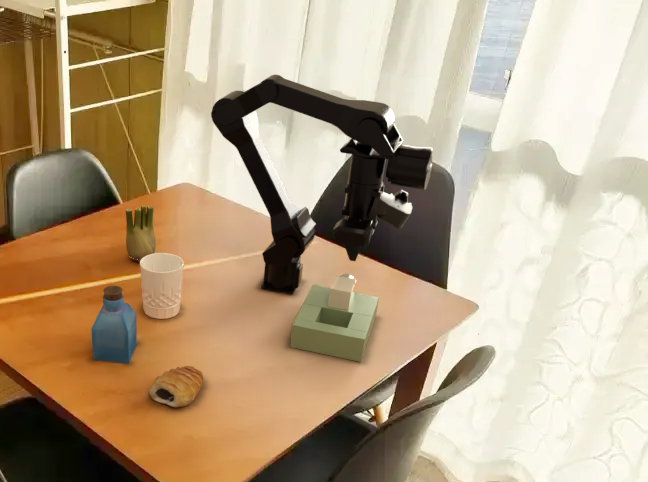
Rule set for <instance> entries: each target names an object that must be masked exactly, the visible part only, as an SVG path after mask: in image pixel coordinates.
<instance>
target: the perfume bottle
mask: <svg viewBox="0 0 648 482" xmlns="http://www.w3.org/2000/svg"><path fill="white" fill-rule="evenodd" d="M102 291H103V292H102V293H103V295H102V306H101V308H100V309H99V312H98V313H97V316H96V318H95V320H94V322H93V324H92V326H91V329H90V331H91V333H90V334H91V347H92V348H91V349H92V360H93V361H100V362H108V363H116V364H117V363H118V364H119V363H120V364H127V365H129V364H130V363H131V360H132V357H133V354H134V352H135V350H136V347H137V345H138V335H137V334H138V333H137V312H136V311H135V310H134V308H133V307H132V306H131V304H130V303H128V302H125V295H124V294H123V288H122V287H121V286H119V285H108V286H106V287H104V288H103V290H102Z"/></svg>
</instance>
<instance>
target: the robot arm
mask: <svg viewBox="0 0 648 482" xmlns="http://www.w3.org/2000/svg"><path fill="white" fill-rule="evenodd" d="M269 103H270V104H274V105H277V106H280V107H282V108H285V109H288V110H291V111H293V112H296V113H299V114H302V115H305V116H308V117H311V118H314V119H317V120H320V121H322V122H325V123H328V124H330V125H332V126H334V127H336V128H337V129H338V130H340V131H341V132H342V133H343V134H344V135H345V136H346V137H348V138H350V140H349V141H347V142H346V143H344V144H343V145H342V147H341V148H339V152H340V153H342V154H347V155H348V154H349V155H351V157H350V164H349V171H348V178H347V183H346V185H345V187H344V193H345V198H344V199H345V200H344V205H343V207H342V208H341V216H343V218H341V219H340V220H338V221H337V222H336V223H335V225H334V227H333V229H332V233H331V241H333V243H340V244H343V245H344V248H345V251H346V254H347V257H348V260H349V261H350V262H356V261H357V258H358V256H359V253H360V251H361V249H362V248H363V247H369V244H370V242H371V239H372V237H373V235H374V232H375V228H376V227H377V225H378V222H379V221H378V220H377V219H378V218H379V220H382V221H384V222H386V223H388V224H390V225H392V227H393V228H395V229H399V230H401V229H403V227H404V225H405V224H406V222H407V220H408V219H409V217H410V216H411V214H412V211H413V205H412V204H413V203H412V202H410V201H409V192H408V191H405V190H403V189H400V190H398V191H397V192H395V193H394V194H393V193H392V192H390V194H389V193H387V192H385V184H384V182H383V179H384V173H385V178H387V182H388V183H390V185H391V186H399V187H404V188H411V189H417V190H423V191H426V189H427V188H428V184H429V181H430V178H431V175H432V174H431V173H432V169H433V165H434V163H433V152H434V149H433V147H427V146H422V147H421V146H411V145H405V144H404V139H403V137H402V136H401V135H402V134H400V132H399V129H398V128H397V126H396V124H395V121H396V120H395V114H394V112H393V109H392V108H391V106H389V105H388V104H387V103H384V102H380V101H372V100H366V99H347V98H342V97H339V96H337V95H334V94H330V93H328V92H326V91H325V92H324V91H322V90H319V89H315V88H313V87H310V86H307V85H304V84H301V83H299V82H296V81H293V80H289V79H286V78H284V77H283V76H282V75H279V74H271V75H269V76H268V77H266V78H265V79H263V80H262V81H261V82H259V83H258V84H256V85H254V86H252V87H250V88H249V89H247V90H245V91H243V90H233V91H231V92H229V93H227V94H226V95H225V96H223V97H221V98H219V99H218V100H216V102H215V103H214V104H213V106H212V109H211V112H210V117H211V120H212V122H213V124H214V126H215V127H216V129H217V130H218V131H219V133H220V134H221V136H222V137H223V138H224V139H225V140H226V141H227V142H229V143H230V144H231V145H232V146H234V147H235V148H236V150H237V152H238V154H239V156H240V158H241V160H242V162H243V164H244V166H245V168H246V170H247V172H248V174H249V176H250V178H251V180H252V182H253V184H254V186H255V188H256V190H257V192H258V195H259V196H260V198H261V200H262V202H263V204H264V206H265V209H266V210H267V212H268V214H269V217H270V218H269V219H270V230H271V231H270V232H271V236H272V239H273V241H271V242H270V244H268V246H267V247H266V248H265V249H264V251H263V252H262V258H263V262H264V272H263V281H262V283H261V285H260V289H262V290H265V291H270V292H276V293H281V294H287V295H294V294H295V292H296V290H297V289H298V288H299V287H300V285H301V284H302V276H303V268H304V264H303V263H301V259H302V255H303V254H304V253H305V251H306V250H307V249H308V248H309V246H310V245H311V244H312V242H313V241H314V239H315V235H316V229H315V227H316V226H317V223H316V222H315V221H314V220H313V219H312V216H311V214H310V209H309V208H308V207H307V206H304V207H303V208H299V207H298V206H296V205H295V204H294V203H293V201H292V199H291V198H290V195H289V193H288V191H287V189H286V187H285V184H284V183H283V181H282V179H281V176H280V174H279V172H278V170H277V169H276V165H275V164H274V162H273V160H272V158H271V155H270V154H269V151H268V150H267V148H266V146H265V143H264V141H263V139H262V137H261V135H260V127H259V126H260V125H259V116H258V113H257V110H259V109H260V108H262V107H264V106H266V105H268V104H269ZM386 160H387V161H386ZM386 162H387V164H386ZM385 167H386V170H385Z"/></svg>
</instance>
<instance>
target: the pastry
mask: <svg viewBox="0 0 648 482" xmlns="http://www.w3.org/2000/svg"><path fill="white" fill-rule="evenodd" d="M203 375H204V374H203V373H202V371H201V370H199V369H197V368H196V367H194V366H190V365H185V366H181V367H179V366H177V367H176V368H170V369H169V370H166V371H163V373H162V375H158V376H157V377H156V378H155V379H154V382H153V384H152V386H151V388H149V390H148V394H149V396H150V397H151V399H152V400H154V401H155V402H157V403H159V404H162V405H168V406H170V407H172V408H183V407H186V406H188V405H190V404H191V403H192V402H193V401H195V399H196V397H197V396H198V394H199V393H200V390H201V388H202V386H203V383H204V382H203V381H204V376H203Z"/></svg>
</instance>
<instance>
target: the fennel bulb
mask: <svg viewBox="0 0 648 482" xmlns="http://www.w3.org/2000/svg"><path fill="white" fill-rule="evenodd" d="M154 208H155V207H154V206H152V205H147V206H146V205H144V204H141V205H140V207H139V206H138V207H135V208H134V214H133V210H132V209H131V208H126V209H125V219H126V220H125V221H126V228H125V229H126V234H125V235H126V236H125V246H126V251H127V255H128V257H129V256H130V257H132V258H130V257H129V259H130V260H131V261H135V262H138V263H140V260H141V259H142V258H143V257H145V256H147V255H150V254H154V253H156V244H157V243H156V235H155V229H154ZM133 215H134V216H133ZM133 258H134V259H133ZM137 259H138V260H137Z"/></svg>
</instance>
